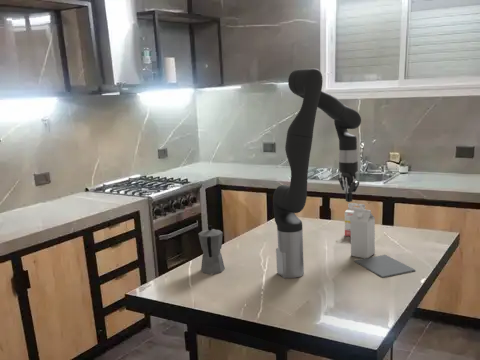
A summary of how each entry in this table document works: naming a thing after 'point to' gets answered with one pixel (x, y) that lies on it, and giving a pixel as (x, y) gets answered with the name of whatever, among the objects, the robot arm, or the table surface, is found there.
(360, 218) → the milk carton
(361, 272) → the table surface
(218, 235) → the coffeepot
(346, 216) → the ink cartridge box
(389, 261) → the mat
